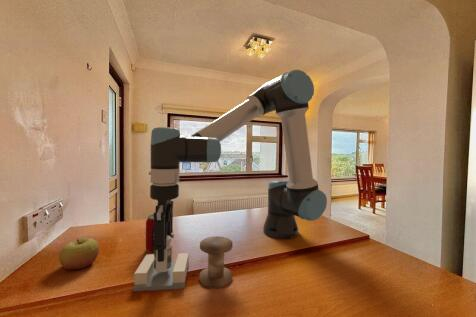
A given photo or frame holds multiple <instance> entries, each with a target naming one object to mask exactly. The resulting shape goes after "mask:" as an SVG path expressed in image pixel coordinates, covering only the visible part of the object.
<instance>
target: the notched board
mask: <svg viewBox="0 0 476 317" xmlns="http://www.w3.org/2000/svg"><path fill="white" fill-rule="evenodd" d="M189 255H190V254H189V252H188V253H187V252H183V253H180V252H179V253H178V255H177V257H176V260H175V261H172V265H171V267H170V268H169V269H168V270H167V272H156V270H155V269H154V253H151V254H150V253H149V254H146V255H145V256H144V257H143V259H142V261H141V262H140V264H139V265H138V267H137V268H136V271H135V272H134V274H133V275H134V277H133V278H134V280H133V282H134V285H133V287H132V292H144V291H146V292H147V291H162V290H163V291H164V290H165V291H166V290H183V289H185V284H186V280H187V274H188V271H187V269H188V270H189V266H188V265H190V261H189V260H190V258H189V257H190V256H189Z"/></svg>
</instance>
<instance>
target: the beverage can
mask: <svg viewBox="0 0 476 317" xmlns="http://www.w3.org/2000/svg"><path fill="white" fill-rule="evenodd" d="M153 247H154V216H153V214H150V215H148V216H147V219H146V221H145V249H146V251H147V252H149V253H151V254H154V249H153Z"/></svg>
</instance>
